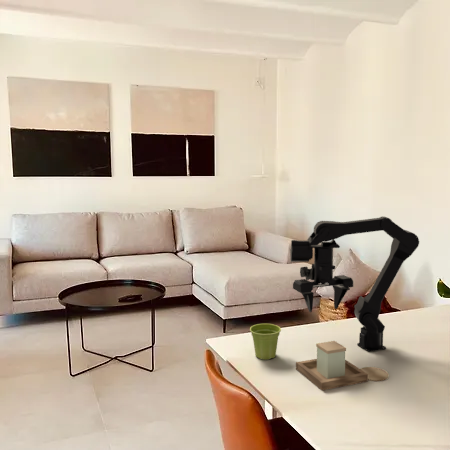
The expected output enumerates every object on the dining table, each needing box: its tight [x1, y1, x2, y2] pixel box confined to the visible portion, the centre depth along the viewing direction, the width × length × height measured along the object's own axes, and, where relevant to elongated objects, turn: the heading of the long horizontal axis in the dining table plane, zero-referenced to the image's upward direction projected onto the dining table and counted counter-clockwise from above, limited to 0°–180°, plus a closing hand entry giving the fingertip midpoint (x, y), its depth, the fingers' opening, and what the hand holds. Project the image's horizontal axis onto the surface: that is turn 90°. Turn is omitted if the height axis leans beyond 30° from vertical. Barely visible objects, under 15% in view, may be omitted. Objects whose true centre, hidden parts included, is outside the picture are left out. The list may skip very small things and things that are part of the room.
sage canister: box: [315, 340, 347, 379], centre depth 132 cm, size 6×6×8 cm
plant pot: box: [249, 323, 282, 361], centre depth 146 cm, size 9×9×9 cm
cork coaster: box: [360, 366, 390, 382], centre depth 132 cm, size 8×8×1 cm
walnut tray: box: [295, 358, 369, 391], centre depth 132 cm, size 14×14×2 cm
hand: (323, 310), depth 152 cm, fingers open, 9 cm apart
